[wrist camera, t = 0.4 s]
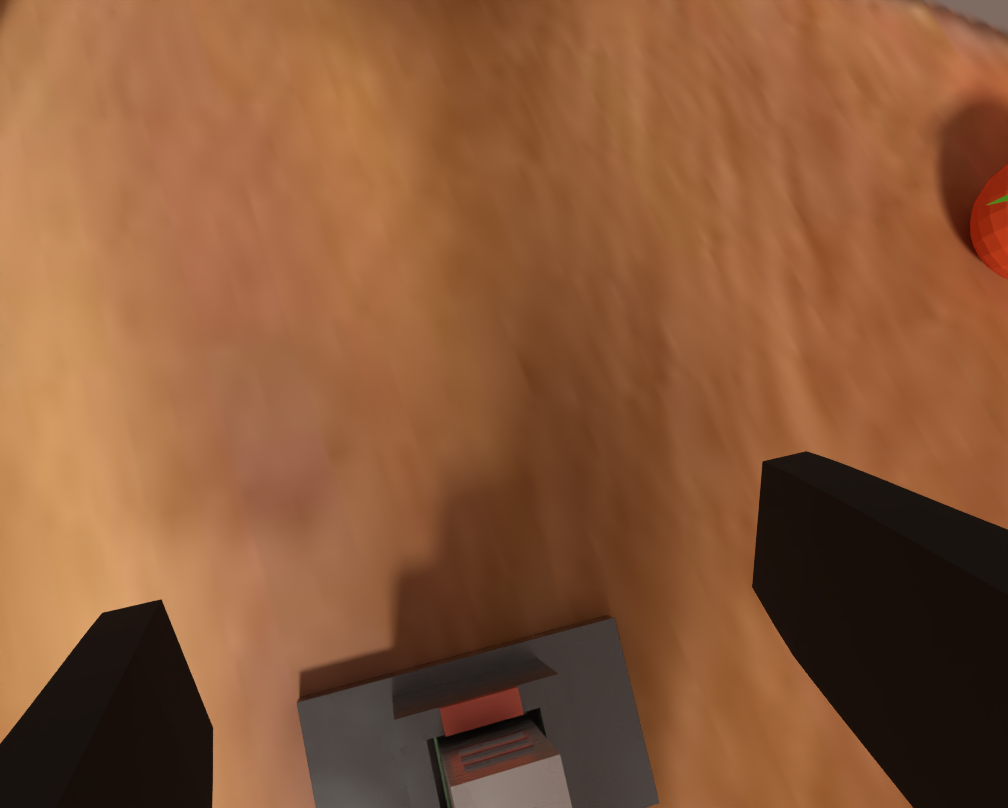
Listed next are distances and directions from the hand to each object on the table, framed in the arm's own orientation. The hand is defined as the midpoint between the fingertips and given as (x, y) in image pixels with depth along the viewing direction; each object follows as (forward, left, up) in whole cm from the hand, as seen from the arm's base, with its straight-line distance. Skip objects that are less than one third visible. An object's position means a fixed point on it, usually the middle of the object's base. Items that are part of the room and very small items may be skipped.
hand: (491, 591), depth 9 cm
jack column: (-9, -1, -24) cm, 26 cm away
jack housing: (-9, -1, -26) cm, 27 cm away
